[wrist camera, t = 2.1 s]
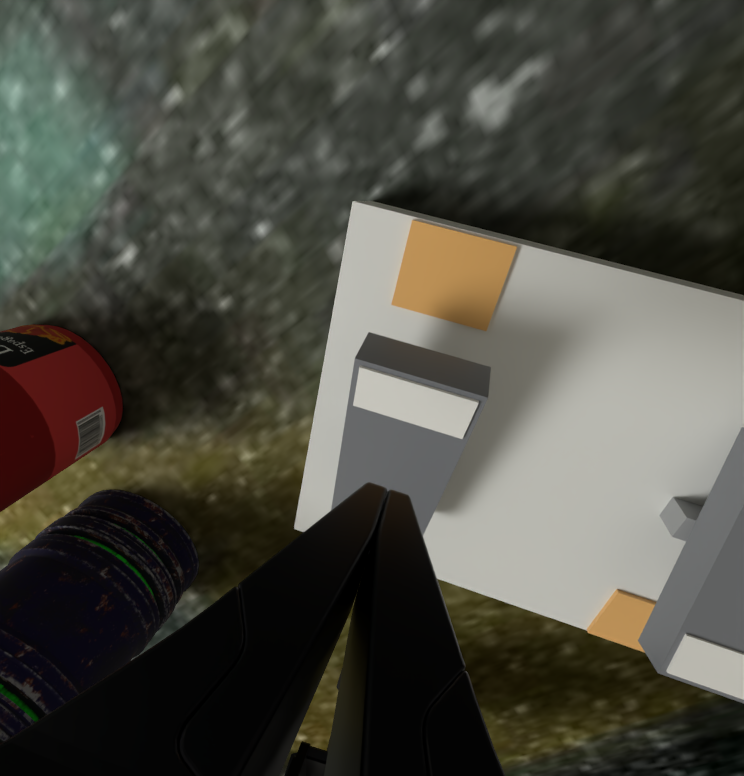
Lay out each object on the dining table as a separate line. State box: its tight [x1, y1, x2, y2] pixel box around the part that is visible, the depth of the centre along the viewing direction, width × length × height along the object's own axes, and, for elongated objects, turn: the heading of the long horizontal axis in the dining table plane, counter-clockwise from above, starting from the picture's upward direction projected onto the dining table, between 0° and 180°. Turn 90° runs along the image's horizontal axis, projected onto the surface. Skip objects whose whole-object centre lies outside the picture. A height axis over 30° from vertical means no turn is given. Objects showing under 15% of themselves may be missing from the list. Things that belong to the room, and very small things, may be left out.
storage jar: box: [0, 490, 199, 743], centre depth 23 cm, size 10×10×15 cm
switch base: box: [294, 201, 744, 652], centre depth 18 cm, size 16×20×4 cm
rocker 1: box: [331, 332, 491, 535], centre depth 15 cm, size 9×4×2 cm, turn 168°
